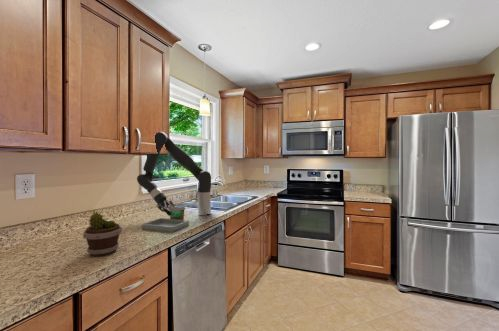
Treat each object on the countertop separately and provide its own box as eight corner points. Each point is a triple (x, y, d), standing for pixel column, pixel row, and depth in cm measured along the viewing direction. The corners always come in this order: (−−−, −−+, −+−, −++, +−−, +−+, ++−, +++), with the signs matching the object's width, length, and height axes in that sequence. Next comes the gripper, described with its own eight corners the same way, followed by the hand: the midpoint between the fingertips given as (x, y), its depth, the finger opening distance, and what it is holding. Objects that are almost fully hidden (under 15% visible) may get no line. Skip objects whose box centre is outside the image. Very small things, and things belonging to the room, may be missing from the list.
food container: (164, 221, 162) (164, 207, 162) (170, 219, 168) (170, 205, 168) (180, 223, 158) (179, 208, 158) (185, 220, 164) (185, 206, 164)
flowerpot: (106, 245, 118) (105, 204, 117) (129, 249, 112) (128, 206, 112) (75, 256, 104) (74, 210, 104) (100, 261, 98) (99, 212, 98)
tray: (160, 222, 160) (160, 218, 160) (188, 225, 152) (188, 220, 152) (142, 229, 145) (142, 224, 145) (172, 232, 137) (172, 227, 137)
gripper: (153, 193, 160) (169, 212, 157) (167, 190, 174) (182, 208, 170) (147, 201, 162) (162, 220, 158) (162, 197, 176) (176, 215, 172)
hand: (172, 213), depth 164 cm, fingers closed on food container, 5 cm apart
